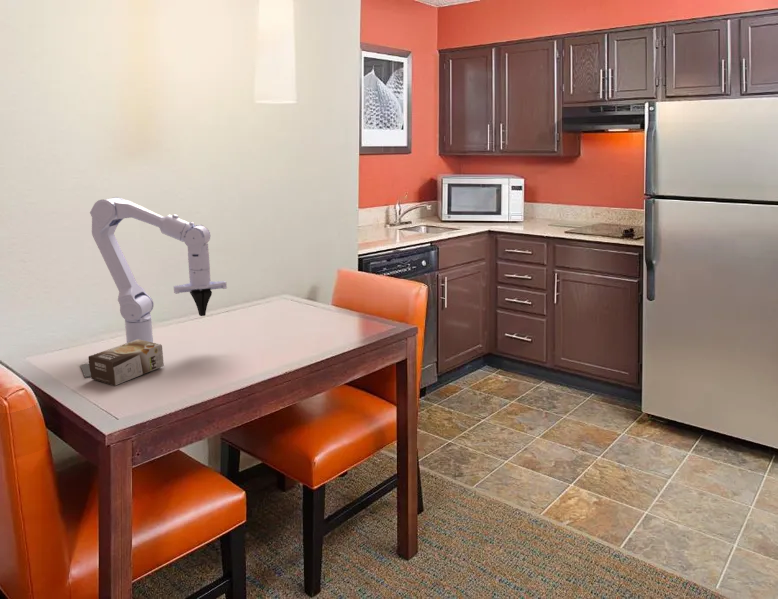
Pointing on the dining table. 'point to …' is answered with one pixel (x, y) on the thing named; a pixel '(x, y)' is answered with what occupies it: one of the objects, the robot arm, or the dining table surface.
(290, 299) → the dining table surface
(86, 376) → the grey flat slab
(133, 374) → the coffee box
